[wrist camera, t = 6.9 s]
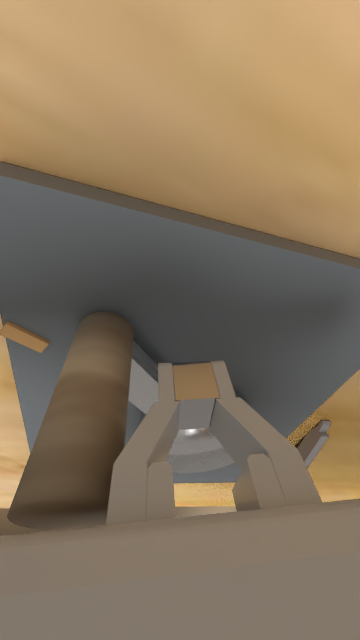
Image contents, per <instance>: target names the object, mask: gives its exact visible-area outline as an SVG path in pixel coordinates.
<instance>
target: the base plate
mask: <svg viewBox="0 0 360 640" xmlns="http://www.w3.org/2000/svg"><path fill="white" fill-rule="evenodd" d="M102 311H103V312H112V313H115V314H118V315H120V316H122V317H124V318H125V319H126V320H127V321H128V322H129V323H130V324H131V326H132V328H133V332H134V337H133V340H134V341H135V342H136V343H137V344H138V345H139V346H140V347H141V348H142V349H143V350H144V352H145V353H146V354H147V355H148V356H149V357H150V358H151V359H152V360H153V361H154V362H155V363H156V364H157V365H158V363H174V362H199V361H221V360H223V361H224V362H225V364H226V368H227V371H228V374H229V377H230V380H231V383H232V386H233V389H234V391H235V392H237V393H239V394H241V395H242V396H243V397H244V398H245V399H246V400H247V401H248V403H249V406H250V407H251V408H253V409H254V410H255V411H256V412H257V413H258V414H259V415H260V416H261V417H263V418H264V419H265V420H266V421H267V422H268V423H269V424H270V425H271V426H272V427H274V428H275V429H276V430H277V431H278V432H279V433H280V434H281V435H282V436H284V437H285V438H287V437H288V436H289V435H290V434H291V433H292V432H293V431H294V430H295V429H296V428H297V427H298V426H299V425H300V424H301V423H303V422H304V421H305V420H306V419H307V418H308V417H309V416H310V415H311V414H312V413H313V412H314V411H315V410H316V409H317V408H318V407H320V406H321V405H322V404H323V403H324V402H325V401H326V400H327V399H328V398H329V397H330V396H331V395H332V394H333V393H334V392H335V391H336V390H338V389H339V388H340V387H341V386H342V385H343V384H344V383H345V382H346V381H347V380H348V379H349V378H350V377H351V376H352V375H353V374H354V373H356V372H357V371H358V370H359V369H360V259H358V258H354V257H350V256H347V255H343V254H339V253H336V252H332V251H328V250H325V249H321V248H317V247H314V246H310V245H306V244H303V243H299V242H295V241H291V240H288V239H284V238H280V237H277V236H273V235H269V234H266V233H262V232H258V231H255V230H251V229H247V228H244V227H240V226H236V225H233V224H229V223H225V222H222V221H218V220H214V219H211V218H207V217H203V216H200V215H196V214H192V213H188V212H185V211H181V210H177V209H174V208H170V207H166V206H163V205H159V204H155V203H152V202H148V201H144V200H141V199H137V198H133V197H130V196H126V195H122V194H119V193H115V192H111V191H108V190H104V189H100V188H97V187H93V186H89V185H85V184H82V183H78V182H74V181H71V180H67V179H63V178H60V177H56V176H52V175H49V174H45V173H41V172H38V171H34V170H30V169H27V168H23V167H19V166H16V165H12V164H8V163H5V162H0V314H1V318H2V323H3V328H2V329H1V331H0V335H2V336H4V337H6V342H7V346H8V351H9V356H10V360H11V365H12V370H13V374H14V379H15V384H16V388H17V393H18V398H19V402H20V407H21V412H22V416H23V421H24V426H25V430H26V435H27V440H28V444H29V449H30V454H31V451H32V448H33V446H34V443H35V440H36V437H37V435H38V432H39V429H40V427H41V424H42V421H43V419H44V416H45V413H46V411H47V408H48V405H49V403H50V400H51V397H52V395H53V392H54V389H55V387H56V384H57V381H58V379H59V376H60V373H61V371H62V368H63V365H64V363H65V360H66V357H67V355H68V352H69V349H70V347H71V344H72V341H73V339H74V336H75V333H76V331H77V328H78V325H79V323H80V321H81V320H82V319H83V318H84V317H85V316H87V315H89V314H91V313H94V312H102ZM142 414H143V411H141V410H140V409H139V408H137V407H136V406H135V405H134V404H132V403H131V402H130V401H129V400H128V411H127V424H126V436H125V446H126V444H127V443H128V441H129V440H130V438H131V437H132V435H133V434H134V432H135V431H136V429H137V428H138V426H139V425H140V419H141V416H142ZM240 473H241V470H240V469H239V467H238V466H237V465H236V464H235V463H232V464H230V465H227V466H225V467H222V468H218V469H214V470H210V471H204V472H197V473H173V483H225V482H237V480H238V478H239V476H240Z"/></svg>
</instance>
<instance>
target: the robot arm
mask: <svg viewBox="0 0 360 640" xmlns="http://www.w3.org/2000/svg"><path fill="white" fill-rule="evenodd" d="M158 394H159V402H154V404H153V405H152V407H151V408H150V410H149V411H148V413H147V414H146V416H145V417H144V419H143V420H142V422H141V423H140V425H139V426H138V428H137V429H136V431H135V432H134V434H133V435H132V437H131V438H130V440H129V441H128V443H127V444H126V446H125V447H124V449H123V450H122V452H121V453H120V455H119V456H118V458H117V459H116V461H115V462H114V464H113V471H112V479H111V487H110V495H109V503H108V511H107V519H106V525H103V526H93V527H83V528H74V529H64V530H55V531H46V532H35V533H26V534H17V535H6V536H0V640H360V499H352V500H343V501H333V502H324V503H323V502H322V500H321V498H320V496H319V494H318V491H317V489H316V487H315V485H314V483H313V481H312V478H311V476H310V474H309V472H308V470H307V468H306V466H305V463H304V461H303V459H302V457H301V455H300V453H299V450H298V449H297V448H296V447H295V446H293V445H292V444H291V443H290V442H289V441H288V440H287V439H286V438H285V437H284V436H282V435H281V434H280V433H279V432H278V431H277V430H276V429H275V428H274V427H272V426H271V425H270V424H269V423H268V422H267V421H266V420H265V419H264V418H263V417H261V416H260V415H259V414H258V413H257V412H256V411H255V410H254V409H253V408H251V407H250V406H249V405H248V404H247V403H246V402H245V401H244V400H243V399H242V398H240V397H237V398H236V395H235V392H234V389H233V386H232V383H231V380H230V377H229V374H228V371H227V368H226V364H225V362H224V361H223V360H221V361H199V362H174V363H158ZM202 428H210V431H211V432H212V433H213V435H214V436H215V437H216V439H217V440H218V441H219V442H220V444H221V445H222V446H223V448H224V449H225V450H226V452H227V453H228V454H229V456H230V457H231V458H232V460H233V461H234V462H235V464H236V465H237V466H238V467H239V469H240V470H241V473H240V476H239V478H238V480H237V482H236V484H235V486H234V488H233V490H232V491H233V496H234V501H235V505H236V510H237V512H228V513H219V514H208V515H199V516H190V517H179V518H176V516H175V501H174V486H173V471H172V465H170V464H169V463H168V462H167V461H165V460H166V457H167V455H168V453H169V451H170V449H171V447H172V444H173V442H174V440H175V438H176V436H177V434H178V430H187V429H202Z"/></svg>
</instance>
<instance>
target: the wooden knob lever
mask: <svg viewBox="0 0 360 640" xmlns="http://www.w3.org/2000/svg"><path fill="white" fill-rule="evenodd" d="M133 337H134V332H133V328H132V326H131V324H130V323H129V322H128V321H127V320H126V319H125V318H124V317H122V316H120V315H118V314H115V313H112V312H103V311H102V312H94V313H91V314H89V315H87V316H85V317H84V318H83V319H82V320H81V321H80V323H79V325H78V328H77V331H76V333H75V336H74V339H73V341H72V344H71V347H70V349H69V352H68V355H67V357H66V360H65V363H64V365H63V368H62V371H61V373H60V376H59V379H58V381H57V384H56V387H55V389H54V392H53V395H52V397H51V400H50V403H49V405H48V408H47V411H46V413H45V416H44V419H43V421H42V424H41V427H40V429H39V432H38V435H37V437H36V440H35V443H34V446H33V448H32V451H31V454H30V456H29V459H28V462H27V464H26V467H25V470H24V472H23V475H22V478H21V480H20V483H19V486H18V488H17V491H16V494H15V496H14V499H13V502H12V504H11V507H10V510H9V513H8V515H7V517H8V519H9V521H11V522H12V523H14V524H16V525H19V526H22V527H27V528H32V529H41V530H64V529H74V528H83V527H92V526H97V525H100V524H103V523H106V519H107V511H108V503H109V495H110V487H111V479H112V471H113V464H114V462H115V461H116V459H117V458H118V456H119V455H120V453H121V452H122V450H123V449H124V447H125V436H126V424H127V411H128V400H129V401H130V402H131V403H132V404H134V405H135V406H136V407H137V408H139V409H140V410H141V411H143V414H142V416H141V419H140V423H141V422H142V420H143V419H144V417H145V416H146V414H147V413H148V411H149V410H150V408H151V407H152V405H153V404H154V402H159V394H158V365H157V364H156V363H155V362H154V361H153V360H152V359H151V358H150V357H149V356H148V355H147V354H146V353H145V352H144V350H143V349H142V348H141V347H140V346H139V345H138V344H137V343H136V342H135V341H134V340H133ZM234 392H235V391H234ZM235 395H236V398H237V397H240V398H242V399H243V400H244V401H245V402H246V403H247V404H248V405H249V403H248V401H247V400H246V399H245V398H244V397H243V396H242V395H241V394H239V393H237V392H235ZM165 461H167V462H168V463H169V464H170V465H172V471H173V473H197V472H204V471H210V470H214V469H218V468H222V467H225V466H227V465H230V464H232V463H235V462H234V461H233V460H232V458H231V457H230V456H229V454H228V453H227V452H226V450H225V449H224V448H223V446H222V445H221V444H220V442H219V441H218V440H217V439H216V437H215V436H214V435H213V433H212V432H211V431H210V428H202V429H187V430H178V434H177V436H176V438H175V440H174V442H173V444H172V447H171V449H170V451H169V453H168V455H167V457H166V460H165Z"/></svg>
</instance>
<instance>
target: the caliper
mask: <svg viewBox="0 0 360 640" xmlns="http://www.w3.org/2000/svg"><path fill="white" fill-rule="evenodd" d="M330 423H331V421H326V420H321V421H320V422H319V424H318V425H317V427H313V428H312V429H311V430H310V431H309V432H308V433H307V434H306V436H305V437H304V439H303V440H302V442H301V444H300V445H299V447H298V450H299V453H300V455H301V457H302V459H303V461H304V463H305V466H306V468H308V467H309V465H310V464H311V462H312V461H313V459H314V458H315V457H316V455H317V454H318V452H319V451H320V449H321V448H322V446H323V445H324V443H325V442H326V441H327V439H328V438H329V435H328V434H327V433H326V431H327V430H328V429H329V427H330V426H331V425H330Z"/></svg>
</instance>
